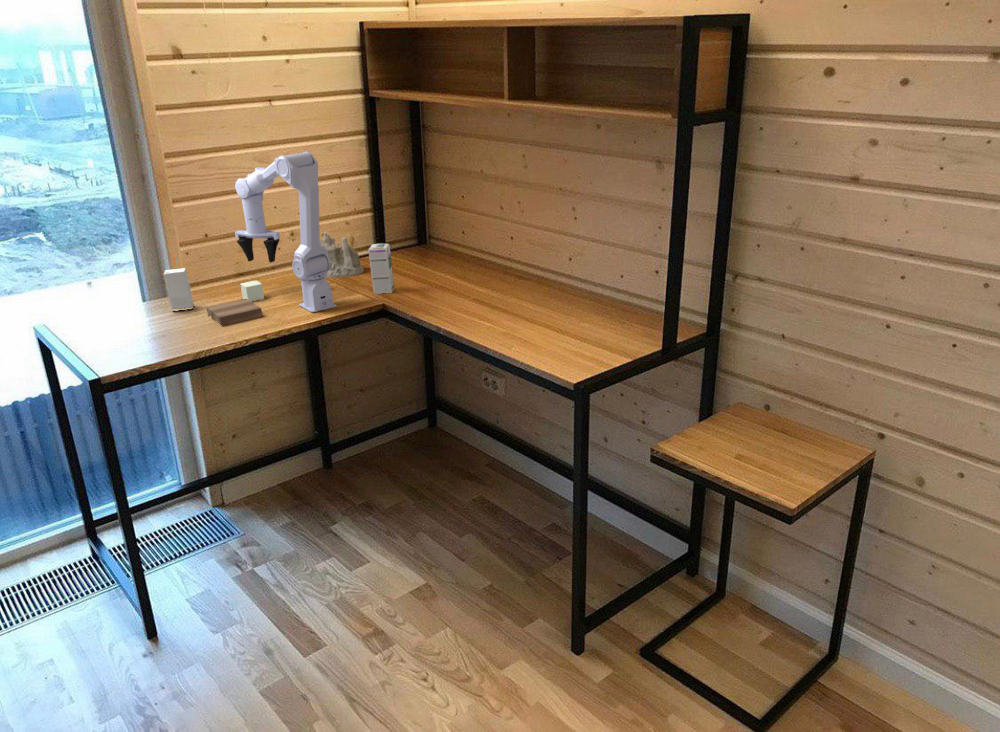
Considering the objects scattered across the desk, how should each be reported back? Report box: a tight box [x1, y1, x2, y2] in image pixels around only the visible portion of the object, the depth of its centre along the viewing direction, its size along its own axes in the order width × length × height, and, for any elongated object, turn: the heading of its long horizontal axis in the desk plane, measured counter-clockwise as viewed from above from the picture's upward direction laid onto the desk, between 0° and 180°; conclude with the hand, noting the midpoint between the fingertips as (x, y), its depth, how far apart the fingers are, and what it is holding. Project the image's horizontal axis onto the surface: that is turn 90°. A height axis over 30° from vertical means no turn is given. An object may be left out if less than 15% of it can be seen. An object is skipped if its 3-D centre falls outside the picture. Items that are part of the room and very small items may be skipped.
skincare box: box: [162, 267, 195, 310], centre depth 236 cm, size 6×4×12 cm
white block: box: [240, 279, 265, 302], centre depth 245 cm, size 5×5×5 cm
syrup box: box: [367, 242, 395, 295], centre depth 245 cm, size 6×6×14 cm
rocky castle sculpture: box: [320, 231, 365, 279], centre depth 269 cm, size 16×16×15 cm
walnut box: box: [206, 298, 263, 326], centre depth 231 cm, size 12×12×3 cm
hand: (261, 261), depth 247 cm, fingers open, 7 cm apart
